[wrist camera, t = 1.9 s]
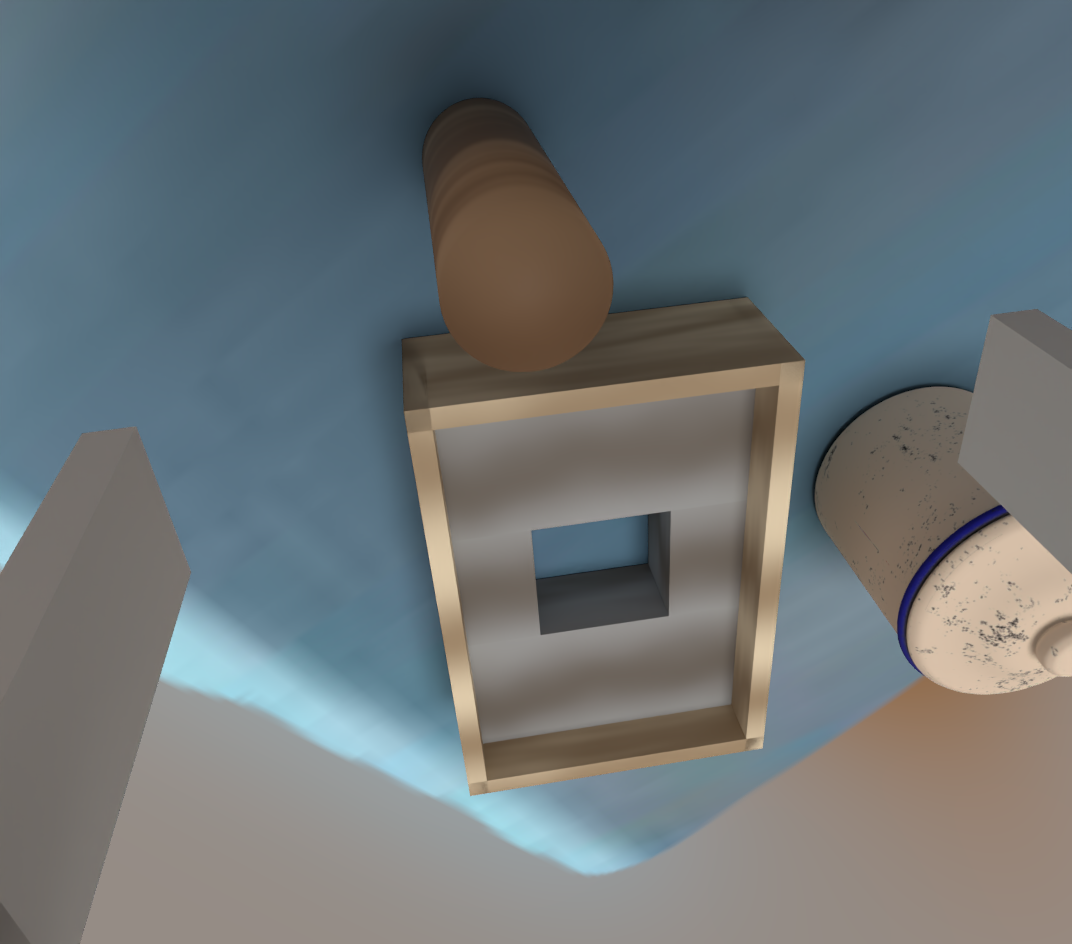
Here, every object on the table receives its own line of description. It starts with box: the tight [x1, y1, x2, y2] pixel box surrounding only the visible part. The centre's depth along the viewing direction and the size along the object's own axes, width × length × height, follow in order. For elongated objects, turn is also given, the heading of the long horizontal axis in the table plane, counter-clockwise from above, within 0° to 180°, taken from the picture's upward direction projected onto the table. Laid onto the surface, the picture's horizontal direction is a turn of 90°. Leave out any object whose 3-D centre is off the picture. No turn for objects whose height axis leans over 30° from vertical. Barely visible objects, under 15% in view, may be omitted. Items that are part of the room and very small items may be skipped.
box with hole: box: [402, 297, 805, 796], centre depth 35 cm, size 19×13×6 cm
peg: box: [422, 98, 613, 372], centre depth 24 cm, size 4×4×12 cm
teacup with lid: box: [815, 387, 1072, 694], centre depth 33 cm, size 12×9×12 cm
